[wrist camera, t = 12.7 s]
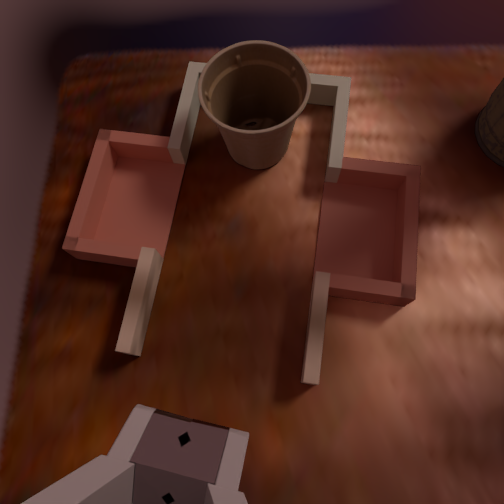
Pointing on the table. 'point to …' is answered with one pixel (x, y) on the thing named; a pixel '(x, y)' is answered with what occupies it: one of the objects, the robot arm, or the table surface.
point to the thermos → (492, 126)
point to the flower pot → (255, 99)
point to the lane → (144, 297)
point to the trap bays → (330, 227)
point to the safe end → (322, 93)
